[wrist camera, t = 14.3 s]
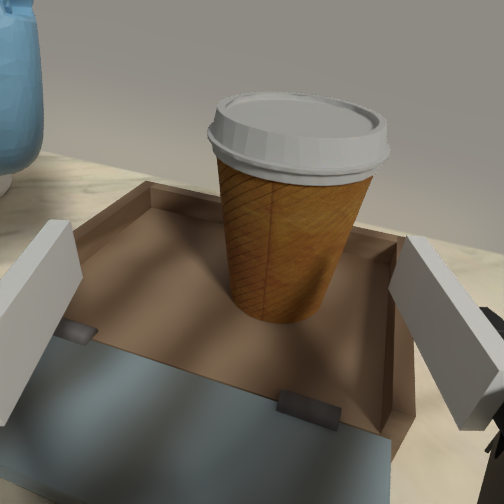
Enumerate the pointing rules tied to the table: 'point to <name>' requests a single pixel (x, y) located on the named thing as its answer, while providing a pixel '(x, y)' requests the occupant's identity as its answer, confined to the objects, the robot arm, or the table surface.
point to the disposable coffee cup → (291, 194)
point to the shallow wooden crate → (211, 374)
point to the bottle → (5, 183)
